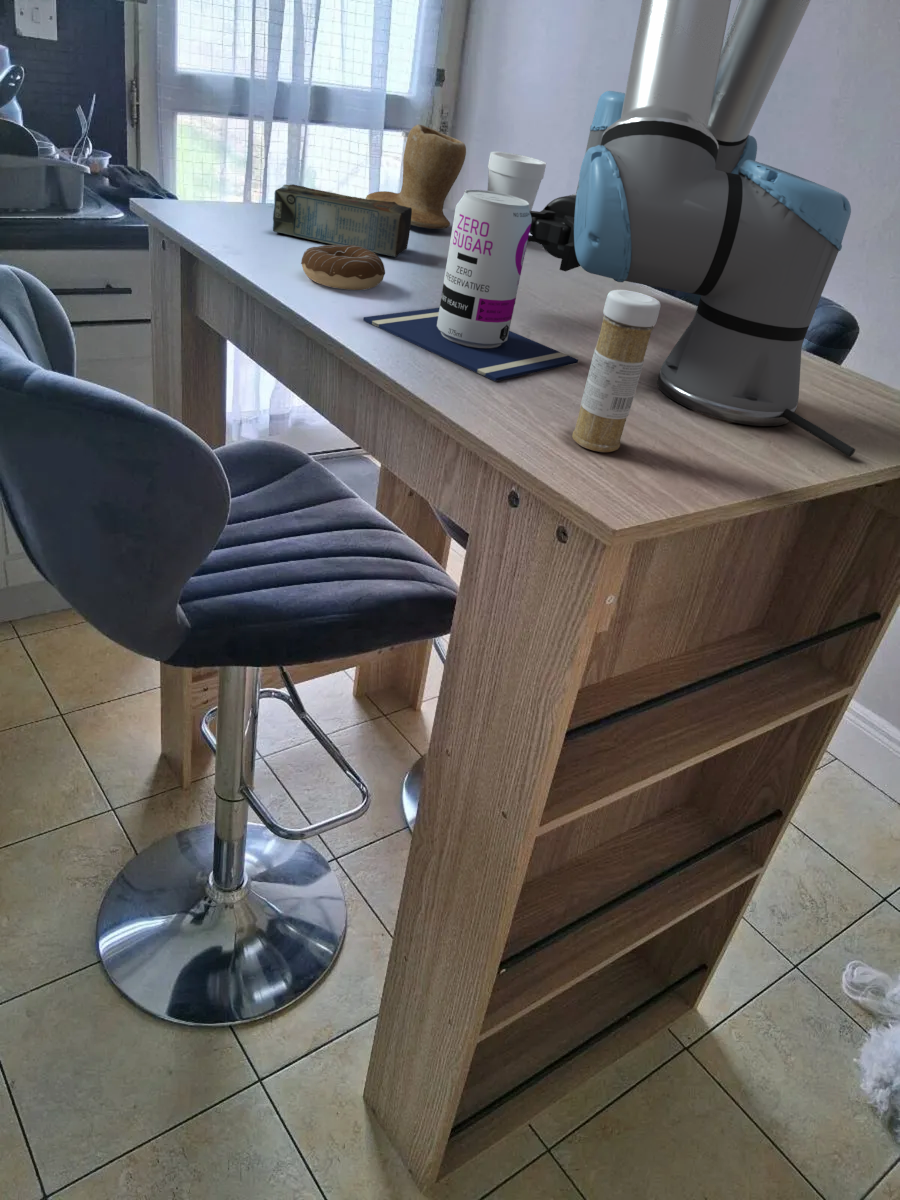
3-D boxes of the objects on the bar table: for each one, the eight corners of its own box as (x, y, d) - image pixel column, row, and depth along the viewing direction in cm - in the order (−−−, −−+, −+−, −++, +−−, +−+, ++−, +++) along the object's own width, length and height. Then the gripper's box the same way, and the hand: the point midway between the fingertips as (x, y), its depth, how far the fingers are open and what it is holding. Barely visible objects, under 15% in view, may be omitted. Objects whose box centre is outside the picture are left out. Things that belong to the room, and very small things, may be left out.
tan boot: (466, 235, 153) (483, 138, 145) (407, 233, 147) (421, 131, 139) (419, 213, 163) (432, 121, 155) (362, 210, 156) (372, 114, 148)
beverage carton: (287, 224, 137) (290, 177, 134) (409, 250, 136) (415, 204, 133) (270, 232, 130) (273, 184, 127) (398, 260, 130) (405, 212, 126)
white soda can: (507, 334, 106) (535, 199, 98) (504, 355, 99) (533, 211, 91) (440, 321, 106) (462, 184, 98) (432, 340, 99) (455, 195, 91)
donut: (380, 300, 111) (384, 266, 108) (294, 285, 110) (297, 251, 107) (385, 279, 119) (389, 247, 117) (306, 265, 118) (308, 233, 116)
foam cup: (525, 250, 151) (542, 166, 144) (472, 238, 152) (486, 154, 145) (532, 240, 159) (548, 161, 152) (481, 229, 160) (495, 149, 153)
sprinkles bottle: (607, 434, 85) (648, 291, 78) (627, 455, 81) (671, 306, 74) (563, 432, 84) (600, 285, 76) (581, 453, 80) (621, 301, 73)
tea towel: (577, 363, 103) (578, 359, 102) (495, 381, 92) (496, 377, 92) (450, 309, 112) (450, 305, 112) (363, 320, 102) (363, 316, 102)
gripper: (655, 279, 117) (604, 306, 100) (484, 232, 124) (410, 249, 107) (672, 218, 113) (622, 235, 96) (494, 173, 120) (419, 181, 103)
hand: (510, 242), depth 102 cm, fingers open, 13 cm apart
